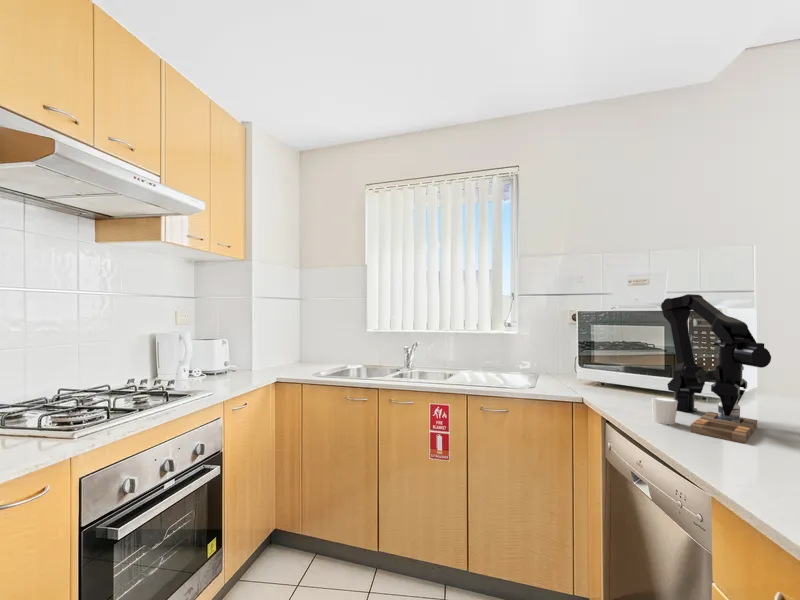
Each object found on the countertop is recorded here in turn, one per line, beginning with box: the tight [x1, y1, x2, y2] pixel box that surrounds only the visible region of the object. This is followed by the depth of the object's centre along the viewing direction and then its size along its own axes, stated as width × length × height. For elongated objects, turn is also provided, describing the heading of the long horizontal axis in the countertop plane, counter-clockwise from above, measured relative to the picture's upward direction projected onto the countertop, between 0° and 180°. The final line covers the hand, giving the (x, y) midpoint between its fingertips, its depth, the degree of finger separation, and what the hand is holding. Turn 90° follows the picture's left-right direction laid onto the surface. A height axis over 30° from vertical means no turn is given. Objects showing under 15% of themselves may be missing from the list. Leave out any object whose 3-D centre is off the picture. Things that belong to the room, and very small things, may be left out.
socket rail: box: [690, 411, 758, 444], centre depth 122 cm, size 24×12×2 cm, turn 134°
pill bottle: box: [717, 400, 741, 423], centre depth 127 cm, size 5×5×9 cm
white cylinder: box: [650, 396, 678, 426], centre depth 128 cm, size 7×7×7 cm
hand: (728, 413), depth 127 cm, fingers open, 6 cm apart
